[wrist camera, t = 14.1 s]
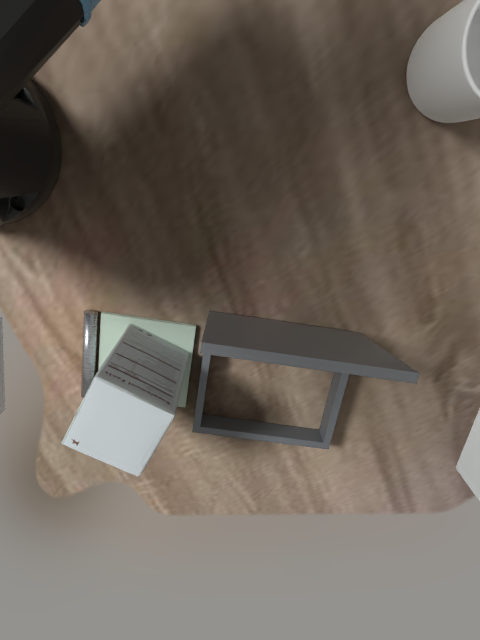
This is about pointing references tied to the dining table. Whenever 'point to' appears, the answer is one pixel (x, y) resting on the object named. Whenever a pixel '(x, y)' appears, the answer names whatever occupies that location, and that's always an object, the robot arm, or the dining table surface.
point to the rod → (89, 349)
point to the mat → (163, 329)
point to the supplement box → (130, 401)
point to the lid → (301, 347)
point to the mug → (448, 66)
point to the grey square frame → (270, 430)
